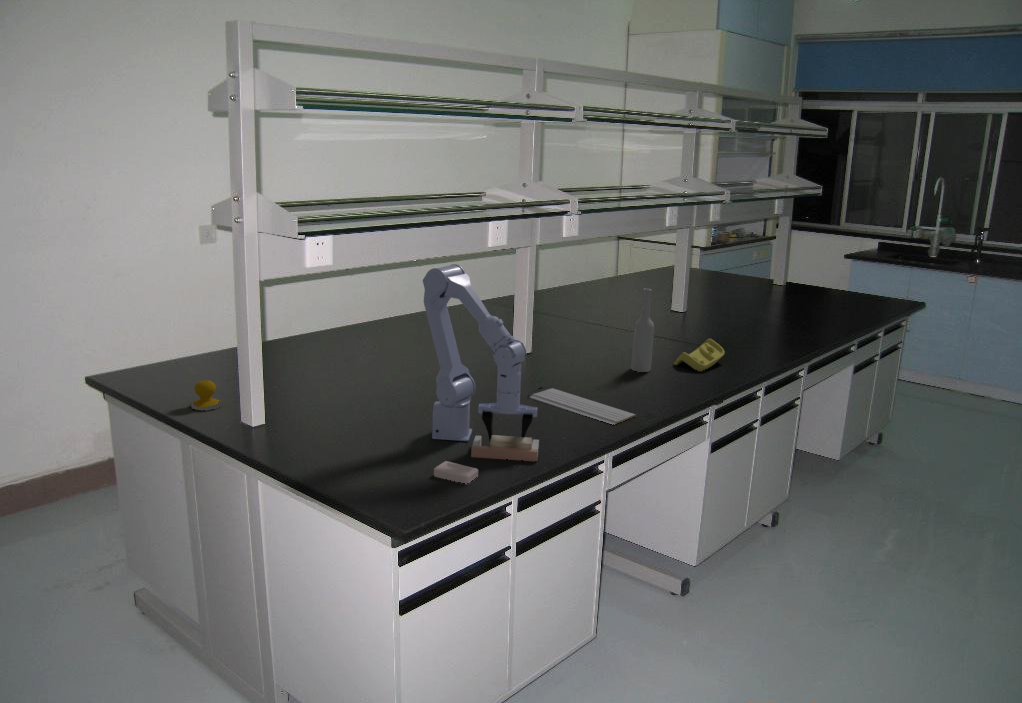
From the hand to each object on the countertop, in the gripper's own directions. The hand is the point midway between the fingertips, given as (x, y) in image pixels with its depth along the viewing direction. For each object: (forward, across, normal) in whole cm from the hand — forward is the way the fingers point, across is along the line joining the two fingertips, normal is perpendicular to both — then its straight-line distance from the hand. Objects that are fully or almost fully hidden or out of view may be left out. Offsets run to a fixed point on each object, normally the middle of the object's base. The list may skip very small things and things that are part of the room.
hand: (506, 441), depth 200 cm
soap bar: (+3, +10, +18) cm, 21 cm away
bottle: (+2, -39, -78) cm, 87 cm away
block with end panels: (+2, 0, +2) cm, 3 cm away
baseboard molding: (+3, -18, -35) cm, 39 cm away
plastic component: (+3, -61, -89) cm, 108 cm away
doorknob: (+2, +85, -16) cm, 86 cm away
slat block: (+2, -1, +3) cm, 4 cm away
